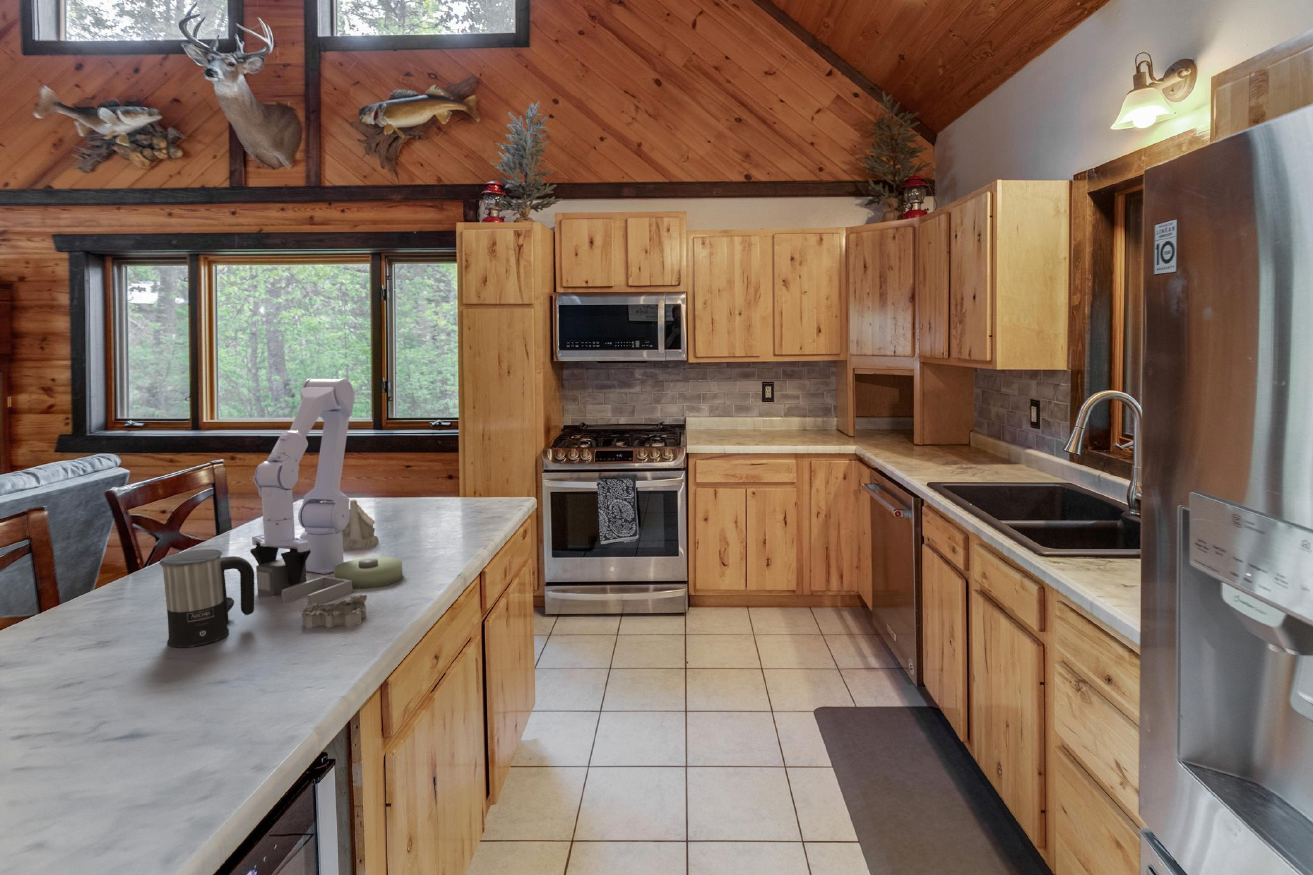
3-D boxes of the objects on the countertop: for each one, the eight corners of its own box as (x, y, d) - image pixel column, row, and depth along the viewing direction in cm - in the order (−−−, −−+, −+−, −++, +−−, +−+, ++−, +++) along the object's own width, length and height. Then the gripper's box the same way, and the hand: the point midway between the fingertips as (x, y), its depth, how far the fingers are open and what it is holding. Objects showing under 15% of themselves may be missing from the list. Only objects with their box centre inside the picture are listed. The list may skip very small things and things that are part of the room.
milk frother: (182, 653, 121) (176, 566, 119) (137, 634, 129) (131, 552, 128) (266, 626, 133) (261, 547, 131) (220, 610, 141) (215, 535, 140)
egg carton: (370, 614, 140) (370, 594, 139) (356, 629, 132) (355, 607, 132) (314, 615, 139) (313, 594, 139) (296, 629, 132) (295, 607, 131)
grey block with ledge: (272, 597, 149) (270, 569, 148) (256, 594, 151) (254, 566, 150) (306, 585, 156) (305, 558, 156) (291, 583, 158) (289, 556, 158)
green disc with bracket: (271, 600, 147) (270, 580, 146) (369, 566, 170) (368, 550, 170) (321, 609, 141) (320, 589, 141) (415, 573, 165) (415, 556, 164)
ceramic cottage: (369, 550, 185) (366, 491, 184) (305, 552, 185) (301, 494, 184) (392, 538, 200) (389, 484, 199) (333, 541, 200) (329, 487, 200)
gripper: (237, 518, 151) (241, 582, 153) (286, 525, 146) (289, 591, 147) (267, 512, 158) (271, 573, 159) (315, 518, 152) (318, 581, 153)
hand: (282, 581), depth 154 cm, fingers open, 7 cm apart
